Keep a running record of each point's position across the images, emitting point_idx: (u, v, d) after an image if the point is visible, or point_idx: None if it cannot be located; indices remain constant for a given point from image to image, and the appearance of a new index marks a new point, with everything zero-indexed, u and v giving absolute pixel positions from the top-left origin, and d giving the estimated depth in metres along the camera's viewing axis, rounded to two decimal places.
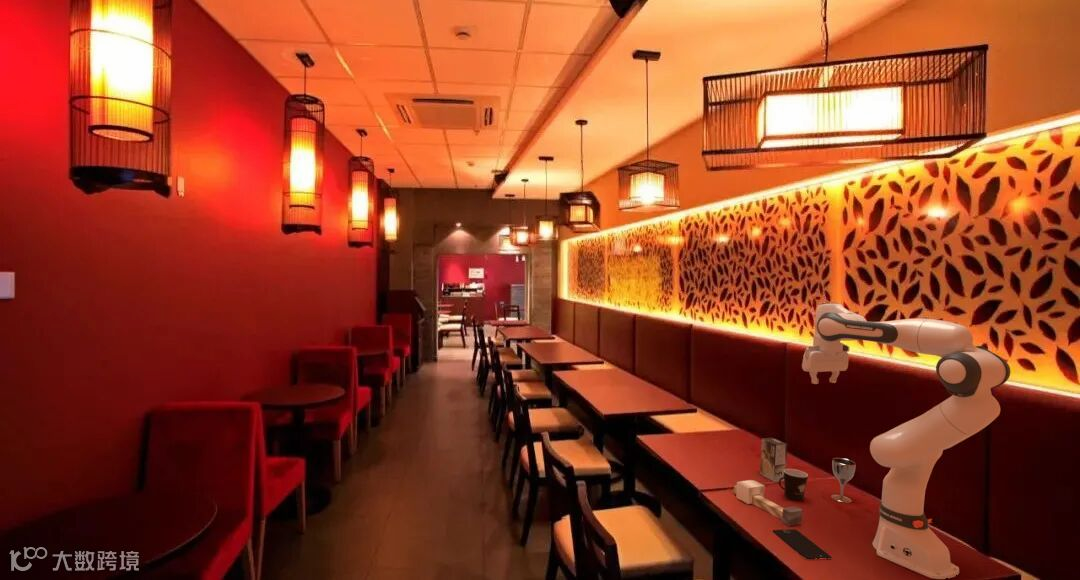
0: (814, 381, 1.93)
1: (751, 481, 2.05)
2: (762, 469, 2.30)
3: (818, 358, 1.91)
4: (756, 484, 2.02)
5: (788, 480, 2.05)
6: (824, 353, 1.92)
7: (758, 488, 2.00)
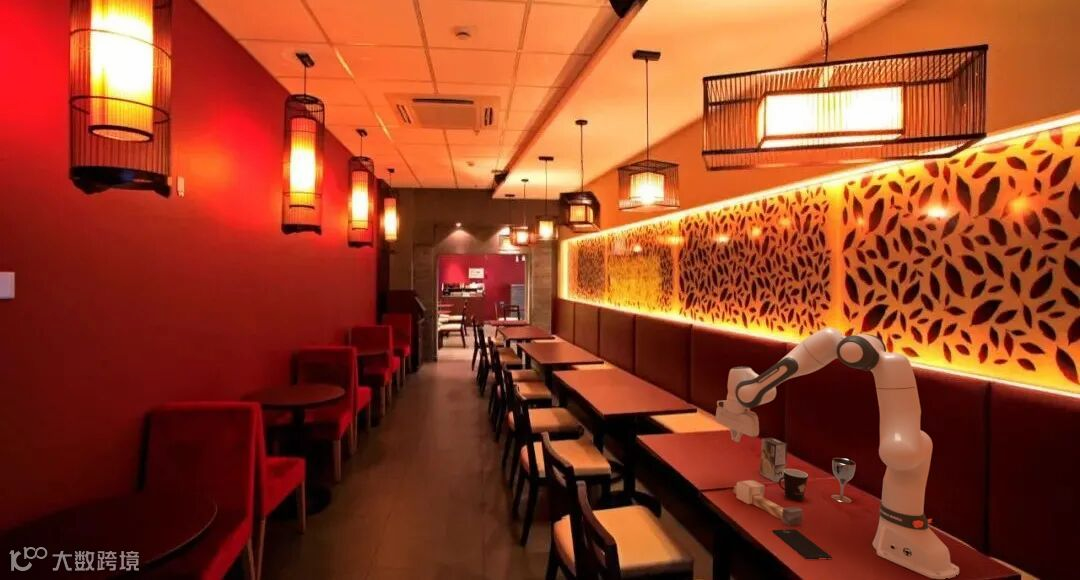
0: (739, 439, 2.09)
1: (751, 481, 2.05)
2: (762, 469, 2.30)
3: None
4: (756, 484, 2.02)
5: (788, 480, 2.05)
6: None
7: (758, 488, 2.00)
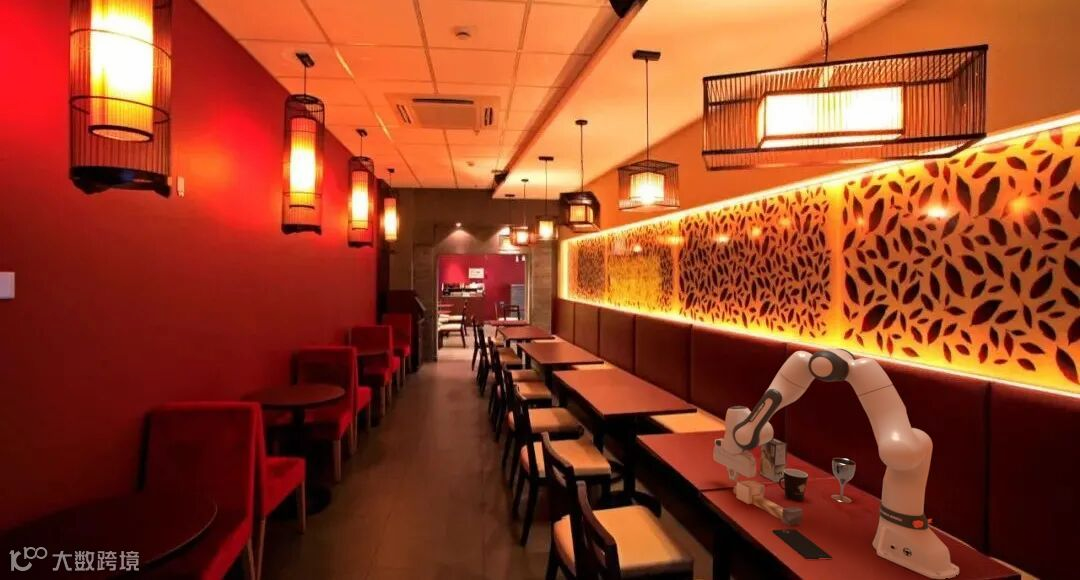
0: (736, 479, 2.10)
1: (751, 481, 2.05)
2: (762, 469, 2.30)
3: None
4: (756, 484, 2.02)
5: (788, 480, 2.05)
6: None
7: (758, 488, 2.00)
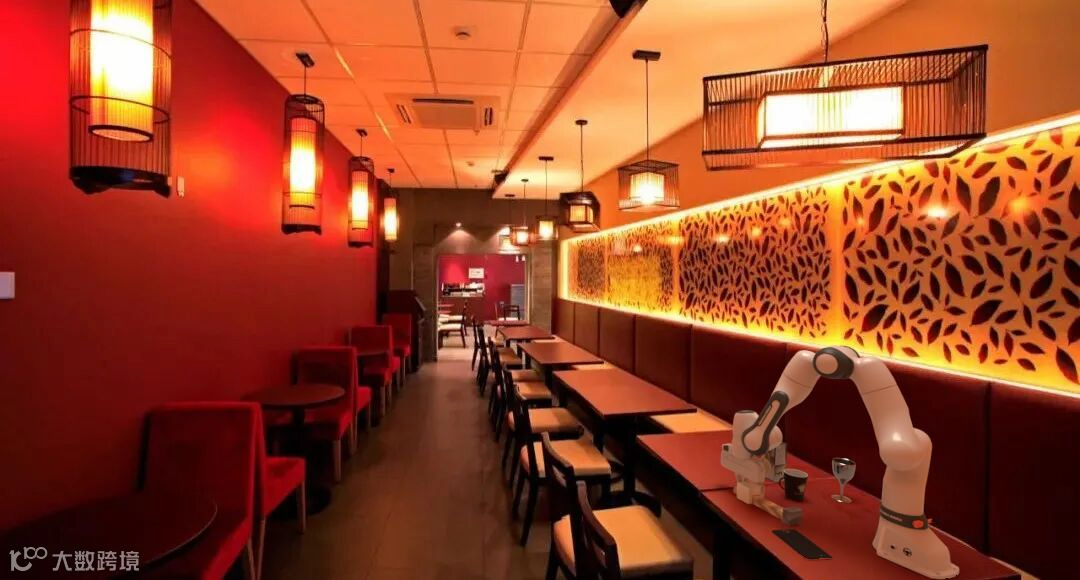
0: None
1: (751, 481, 2.05)
2: None
3: None
4: (756, 484, 2.02)
5: (788, 480, 2.05)
6: None
7: (758, 488, 2.00)
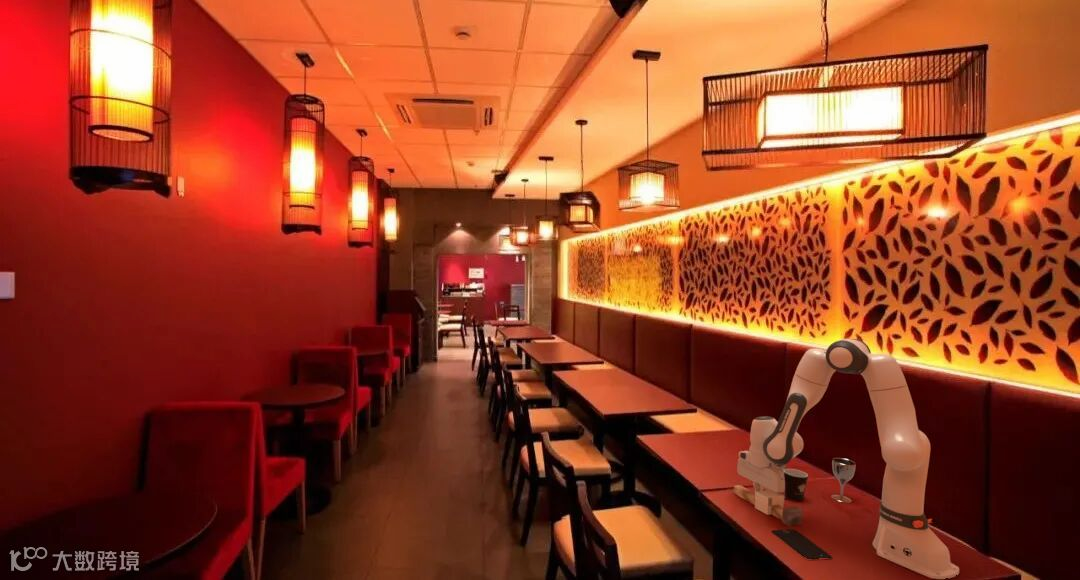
0: None
1: (770, 491, 1.97)
2: None
3: None
4: (775, 494, 1.94)
5: (788, 480, 2.05)
6: None
7: (778, 498, 1.92)
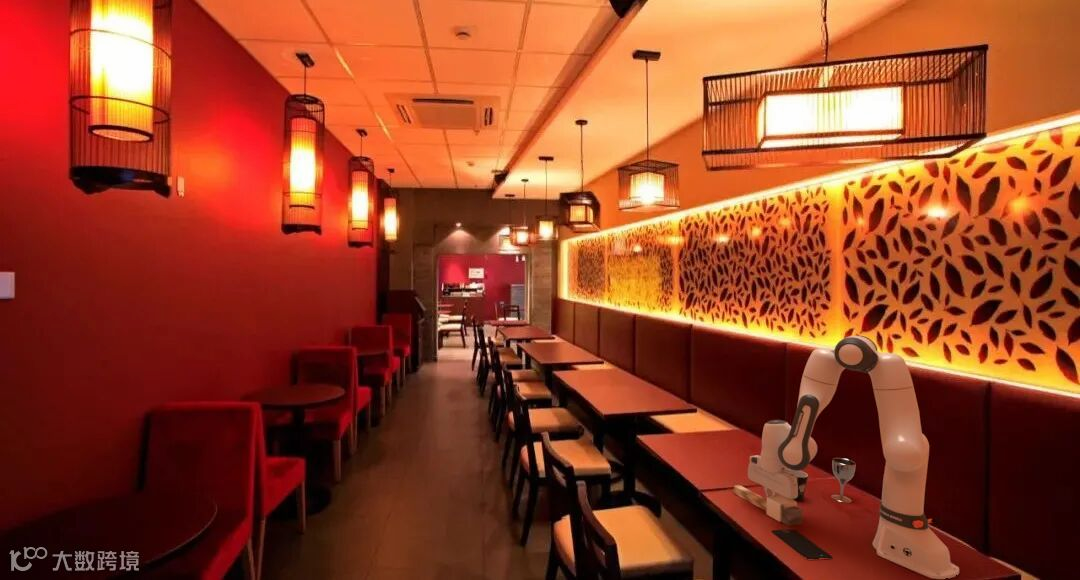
0: None
1: (782, 497, 1.92)
2: None
3: None
4: (788, 500, 1.89)
5: None
6: None
7: (790, 504, 1.87)
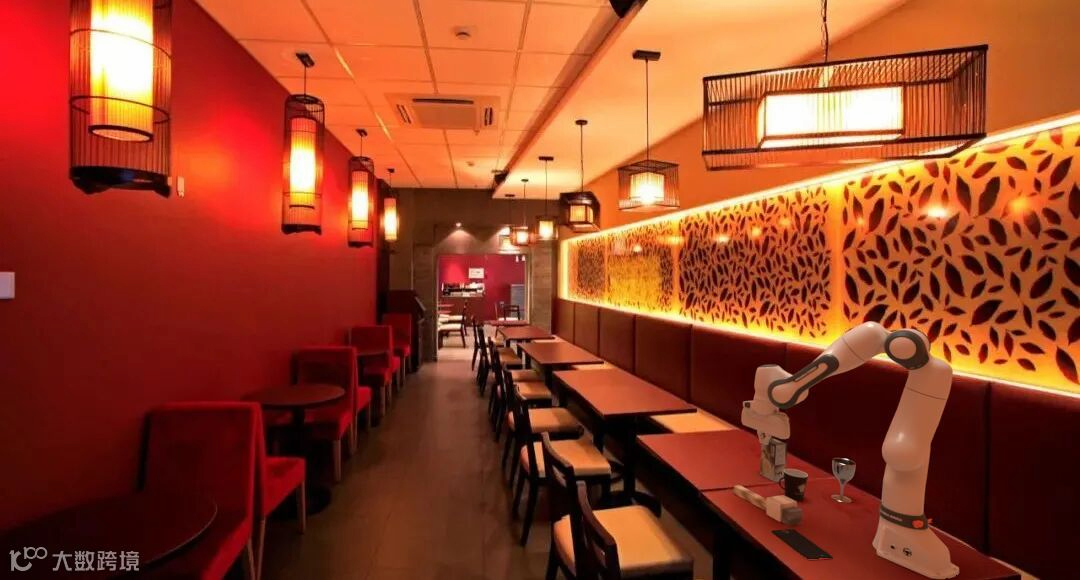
0: (767, 442, 1.96)
1: (782, 497, 1.92)
2: (762, 469, 2.30)
3: None
4: (788, 500, 1.89)
5: (788, 480, 2.05)
6: None
7: (790, 504, 1.87)
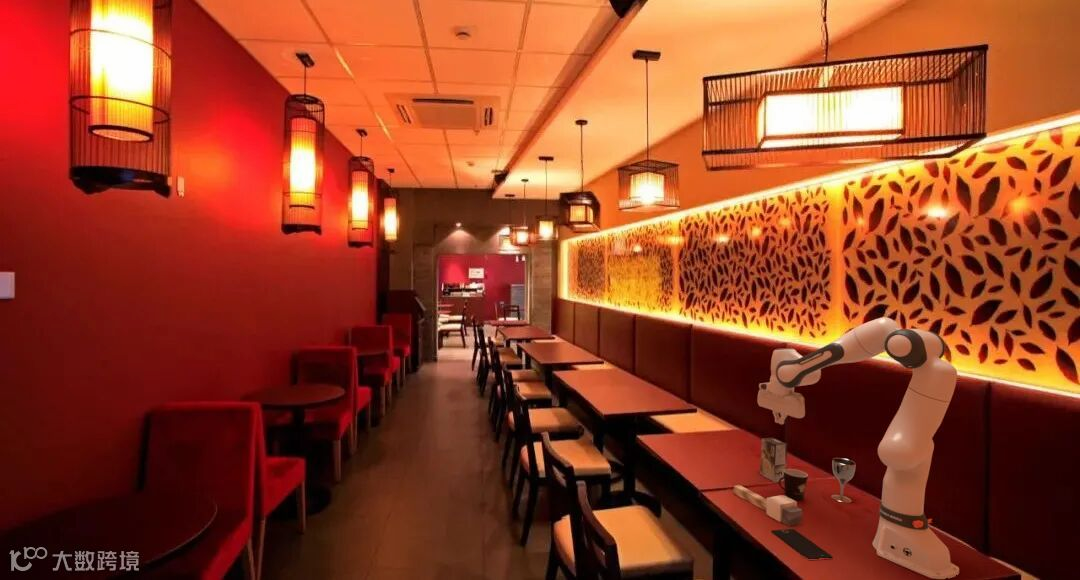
0: (783, 422, 2.06)
1: (782, 497, 1.92)
2: (762, 469, 2.30)
3: None
4: (788, 500, 1.89)
5: (788, 480, 2.05)
6: None
7: (790, 504, 1.87)
